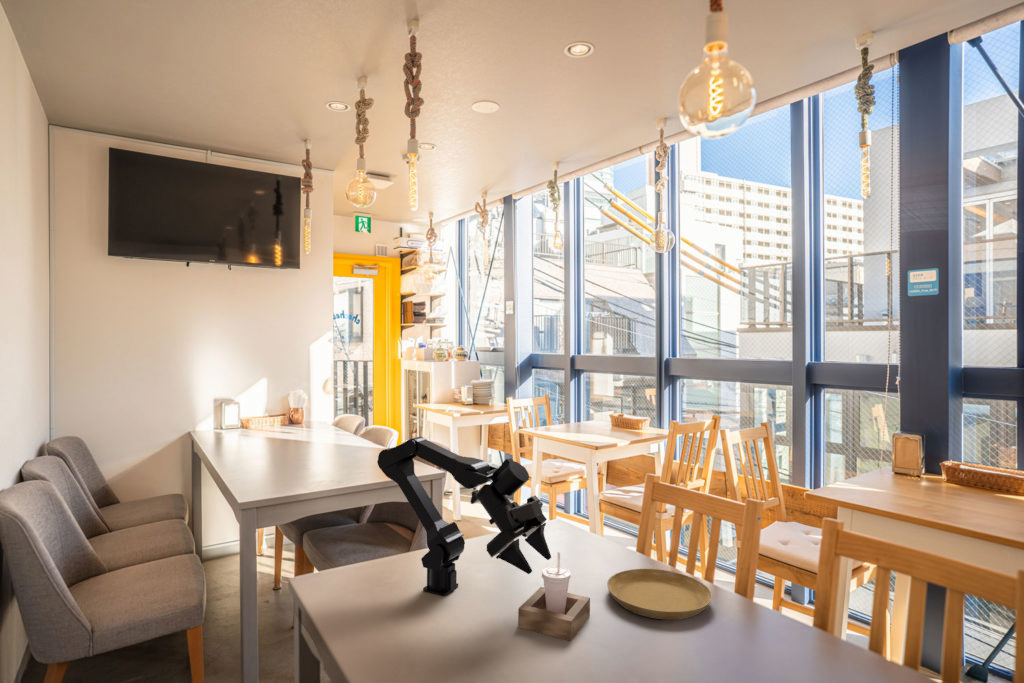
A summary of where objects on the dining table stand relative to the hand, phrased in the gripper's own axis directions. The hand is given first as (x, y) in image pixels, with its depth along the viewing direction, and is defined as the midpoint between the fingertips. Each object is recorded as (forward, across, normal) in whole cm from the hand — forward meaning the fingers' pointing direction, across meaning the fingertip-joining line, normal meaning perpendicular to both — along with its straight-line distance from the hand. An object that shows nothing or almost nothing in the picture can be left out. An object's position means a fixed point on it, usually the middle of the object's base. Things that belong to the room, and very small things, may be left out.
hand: (540, 565), depth 125 cm
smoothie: (+10, +1, +5) cm, 11 cm away
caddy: (+11, 0, +5) cm, 12 cm away
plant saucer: (+23, +22, -6) cm, 32 cm away
